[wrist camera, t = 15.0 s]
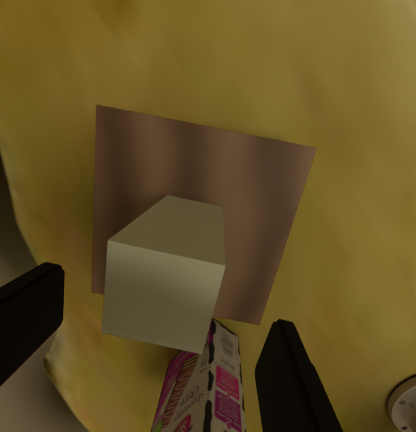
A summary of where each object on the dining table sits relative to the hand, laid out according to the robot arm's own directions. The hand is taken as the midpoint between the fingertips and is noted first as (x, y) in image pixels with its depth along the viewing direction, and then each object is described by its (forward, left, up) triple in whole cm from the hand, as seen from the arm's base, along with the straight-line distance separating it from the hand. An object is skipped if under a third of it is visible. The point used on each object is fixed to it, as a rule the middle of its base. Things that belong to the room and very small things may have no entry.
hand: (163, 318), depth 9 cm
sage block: (0, -1, -10) cm, 10 cm away
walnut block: (+1, 0, -17) cm, 16 cm away
